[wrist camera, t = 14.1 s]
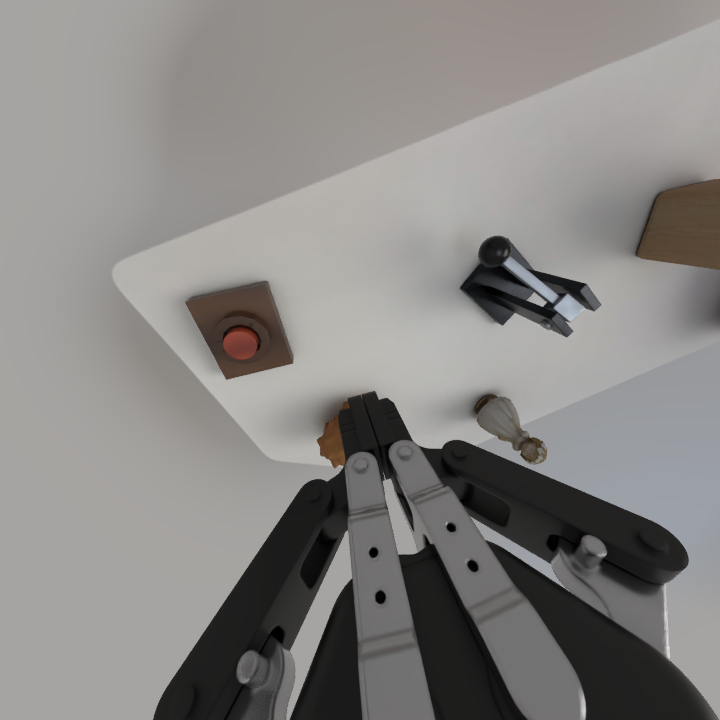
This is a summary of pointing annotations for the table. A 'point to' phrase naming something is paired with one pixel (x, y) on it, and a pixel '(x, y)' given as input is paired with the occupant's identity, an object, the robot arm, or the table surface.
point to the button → (240, 342)
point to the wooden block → (685, 226)
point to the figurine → (509, 427)
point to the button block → (246, 310)
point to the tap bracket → (523, 294)
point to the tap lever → (527, 277)
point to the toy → (333, 442)
